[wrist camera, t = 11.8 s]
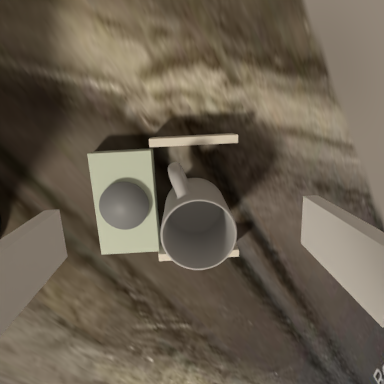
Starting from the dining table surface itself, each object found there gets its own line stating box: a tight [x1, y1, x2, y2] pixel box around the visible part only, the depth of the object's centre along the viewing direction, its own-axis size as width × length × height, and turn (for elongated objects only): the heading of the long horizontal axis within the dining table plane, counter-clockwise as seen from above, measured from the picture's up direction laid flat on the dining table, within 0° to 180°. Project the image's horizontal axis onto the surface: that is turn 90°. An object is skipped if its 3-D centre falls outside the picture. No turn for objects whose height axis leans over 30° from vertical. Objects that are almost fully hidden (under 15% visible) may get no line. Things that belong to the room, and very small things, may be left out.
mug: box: [160, 162, 237, 270], centre depth 35 cm, size 12×8×11 cm
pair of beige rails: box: [87, 133, 239, 261], centre depth 38 cm, size 19×16×4 cm
